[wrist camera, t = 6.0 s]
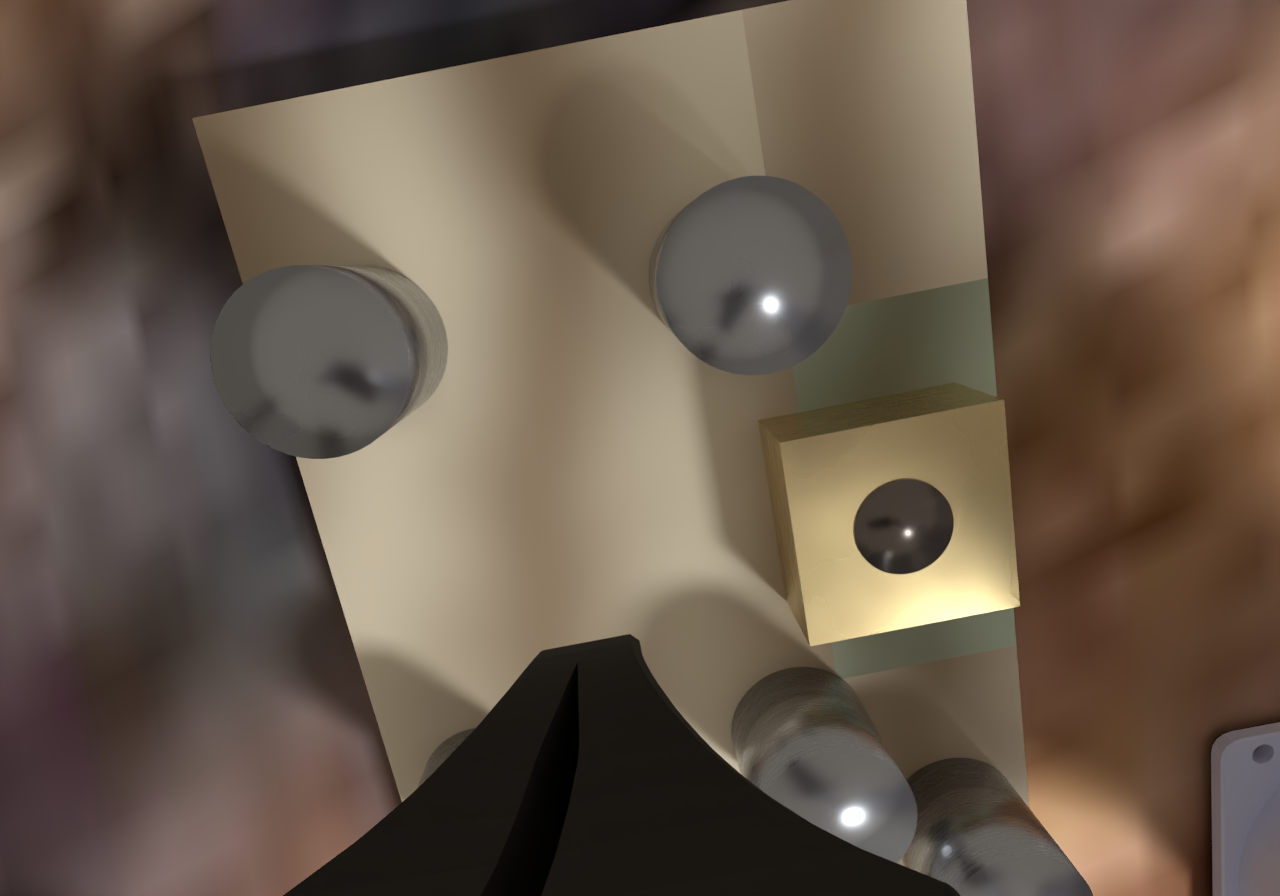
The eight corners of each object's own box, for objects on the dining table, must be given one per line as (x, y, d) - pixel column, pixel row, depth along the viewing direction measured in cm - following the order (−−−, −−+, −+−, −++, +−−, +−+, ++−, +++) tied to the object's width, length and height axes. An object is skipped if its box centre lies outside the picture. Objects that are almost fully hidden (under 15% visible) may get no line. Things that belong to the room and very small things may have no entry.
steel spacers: (962, 146, 14) (1051, 116, 11) (1020, 856, 18) (1098, 969, 15) (269, 281, 14) (183, 285, 12) (471, 959, 18) (445, 1092, 15)
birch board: (935, -11, 15) (963, -34, 14) (1007, 818, 19) (1032, 854, 18) (224, 129, 15) (192, 117, 14) (460, 921, 19) (451, 963, 18)
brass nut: (954, 382, 15) (1005, 399, 13) (971, 565, 16) (1020, 607, 14) (758, 420, 15) (780, 442, 13) (785, 600, 16) (810, 647, 14)
